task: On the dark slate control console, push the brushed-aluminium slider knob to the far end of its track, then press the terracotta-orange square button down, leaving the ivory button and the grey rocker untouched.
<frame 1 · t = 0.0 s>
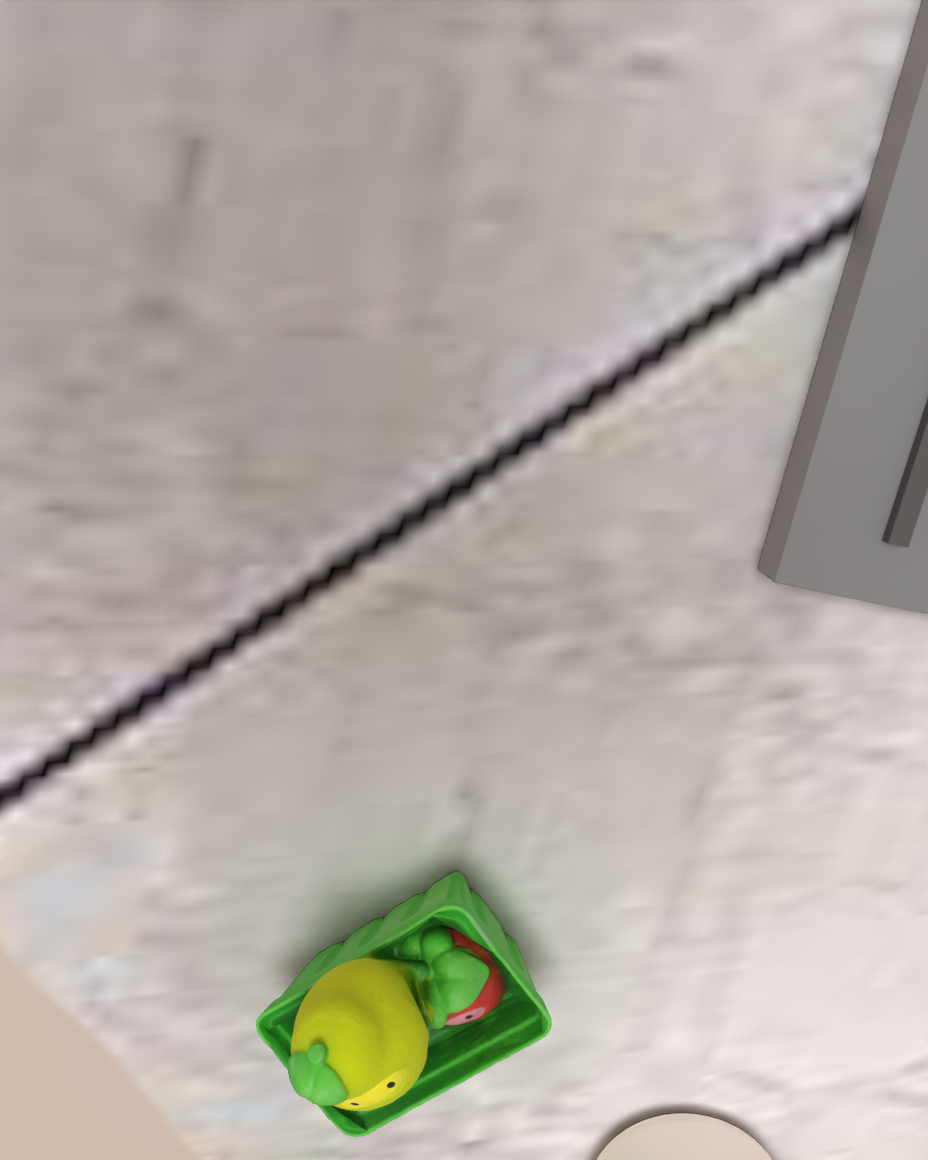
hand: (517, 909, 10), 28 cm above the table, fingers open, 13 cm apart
fruit basket: (407, 940, 43), on the table
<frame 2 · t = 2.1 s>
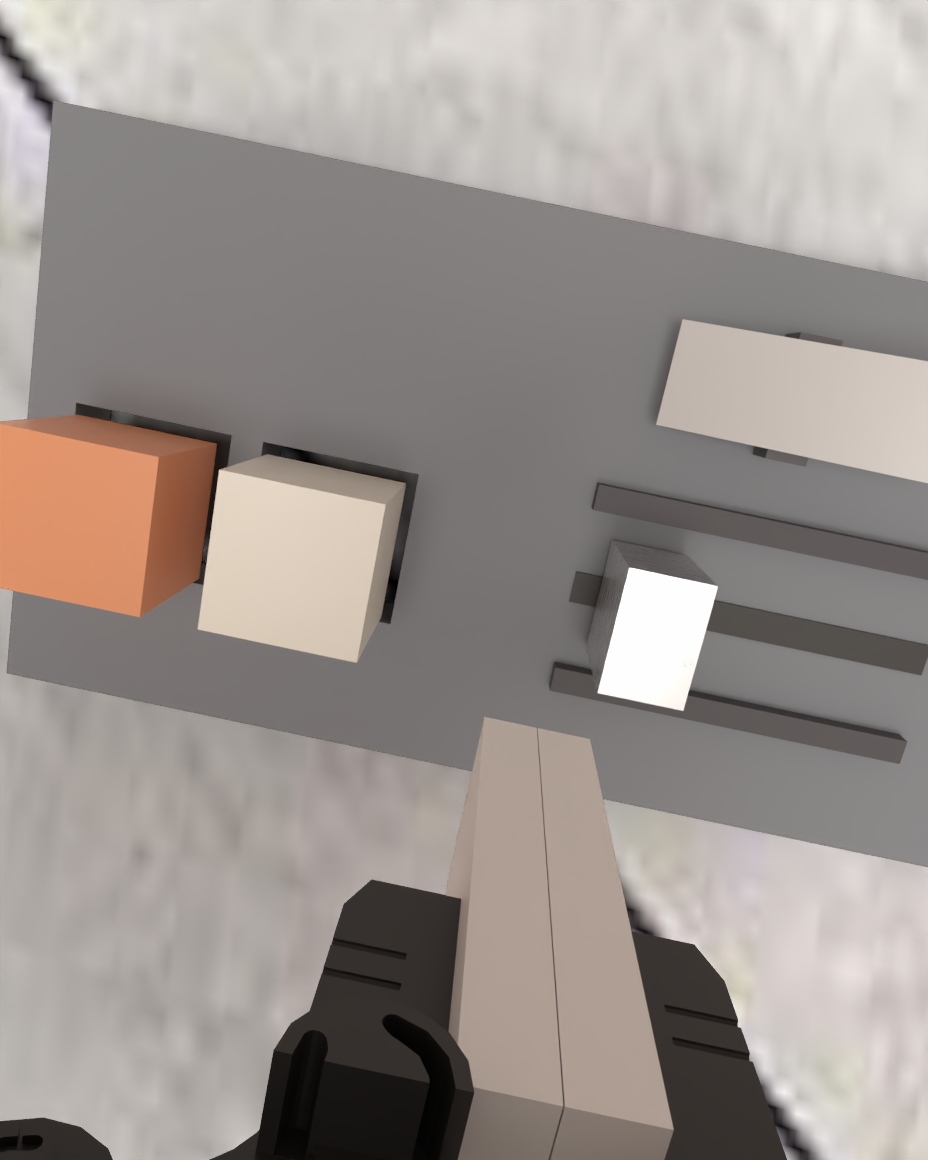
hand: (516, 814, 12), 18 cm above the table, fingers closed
rocker: (814, 401, 24), point 5 cm above the table, hinge at -20.0°
slider knob: (645, 620, 25), point 5 cm above the table, slide at 0.0 cm
console: (523, 501, 30), on the table
button B: (309, 551, 25), point 5 cm above the table, slide at 0.0 cm
button A: (107, 509, 25), point 5 cm above the table, slide at 0.0 cm
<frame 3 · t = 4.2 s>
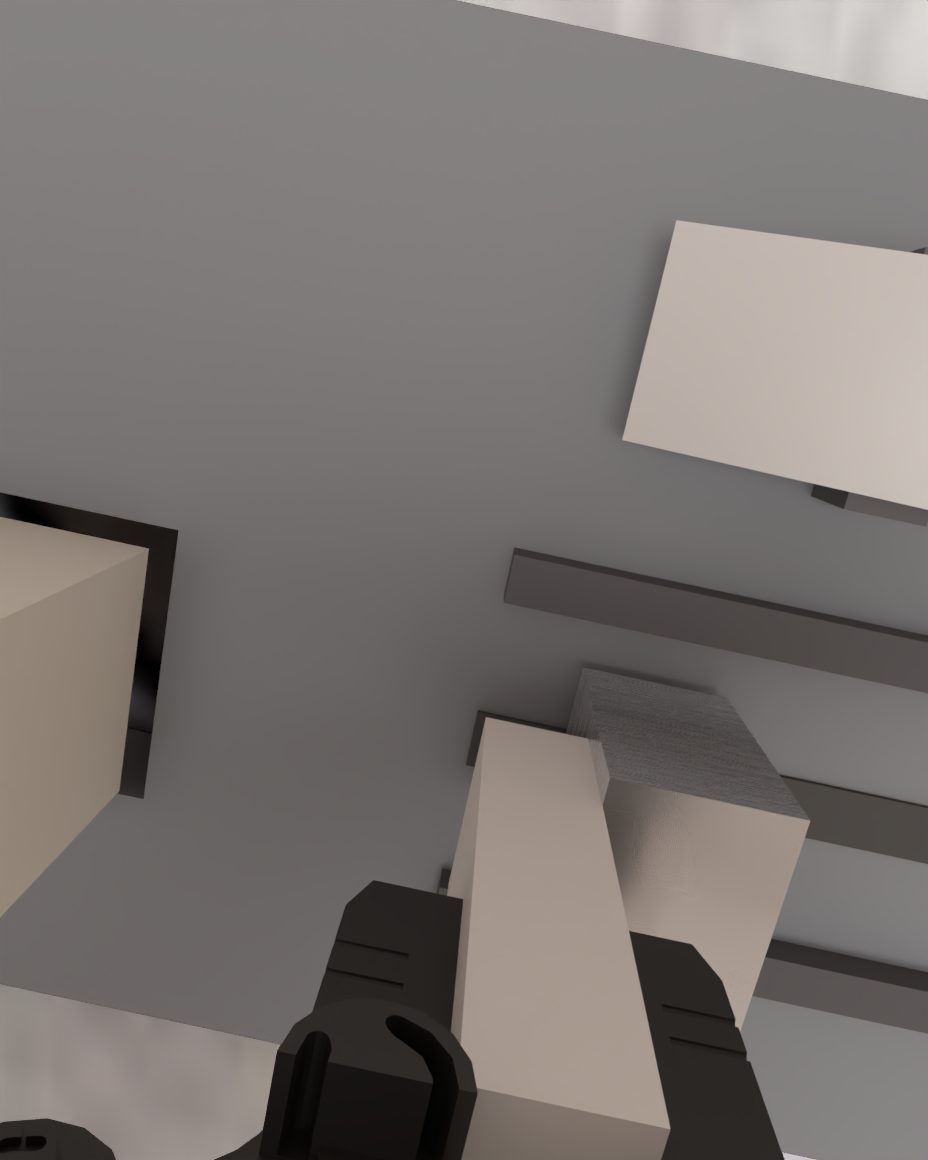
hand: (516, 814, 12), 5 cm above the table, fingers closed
slider knob: (645, 845, 13), point 5 cm above the table, slide at 0.7 cm, touching gripper
console: (398, 570, 17), on the table
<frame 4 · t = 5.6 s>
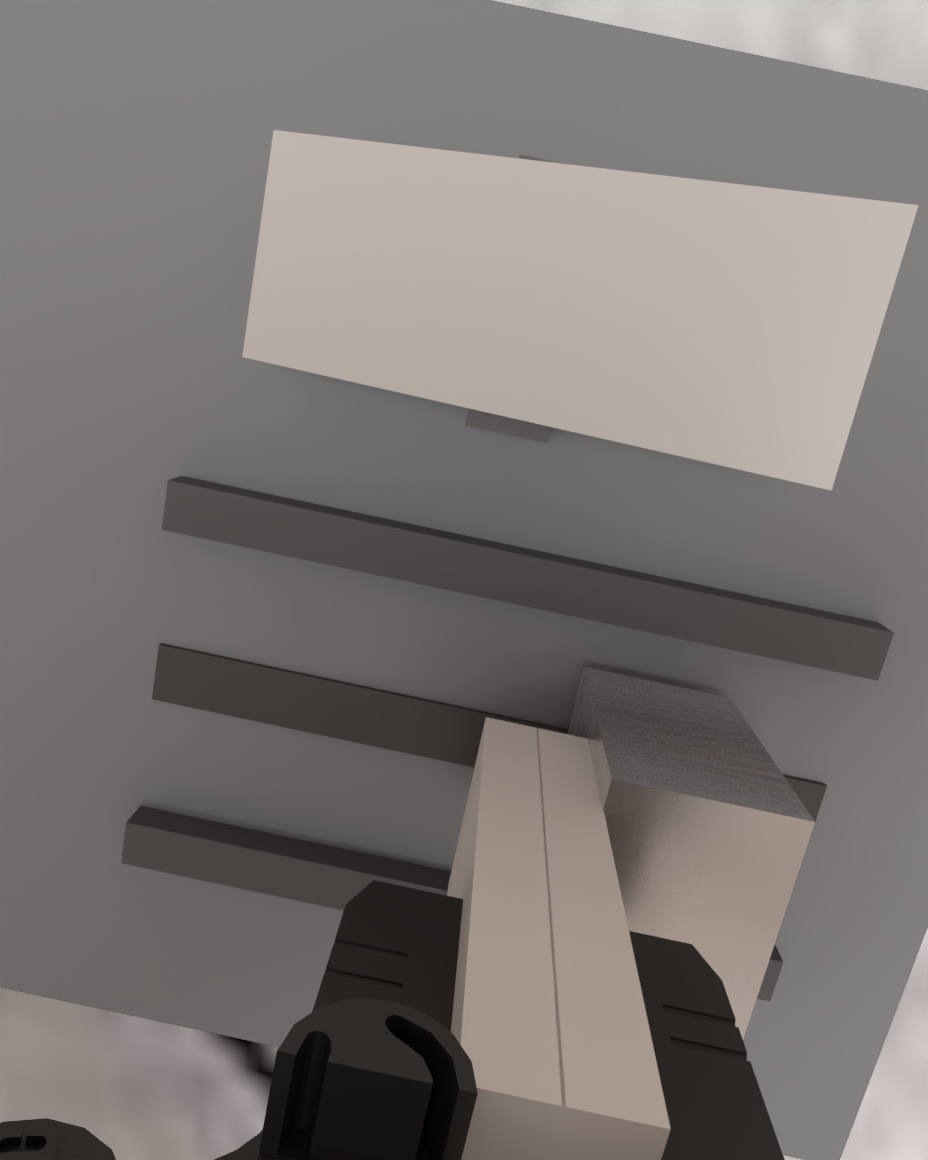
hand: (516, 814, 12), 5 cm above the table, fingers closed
rocker: (536, 298, 11), point 5 cm above the table, hinge at -20.0°
slider knob: (648, 846, 12), point 5 cm above the table, slide at 6.2 cm, touching gripper
console: (120, 511, 17), on the table
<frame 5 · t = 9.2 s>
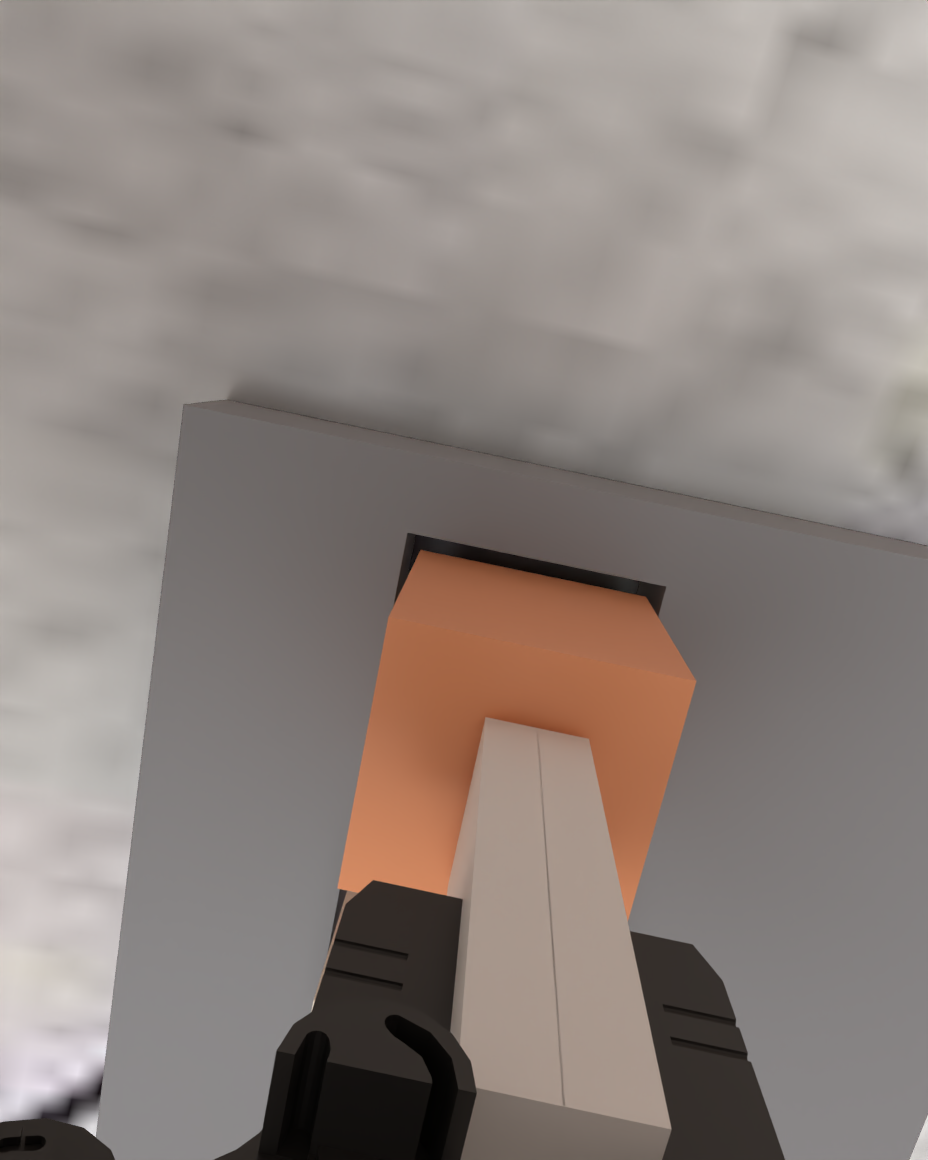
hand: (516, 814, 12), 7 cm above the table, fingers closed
console: (486, 1092, 22), on the table
button B: (439, 1036, 16), point 5 cm above the table, slide at 0.0 cm
button A: (509, 725, 15), point 5 cm above the table, slide at 0.5 cm, touching gripper
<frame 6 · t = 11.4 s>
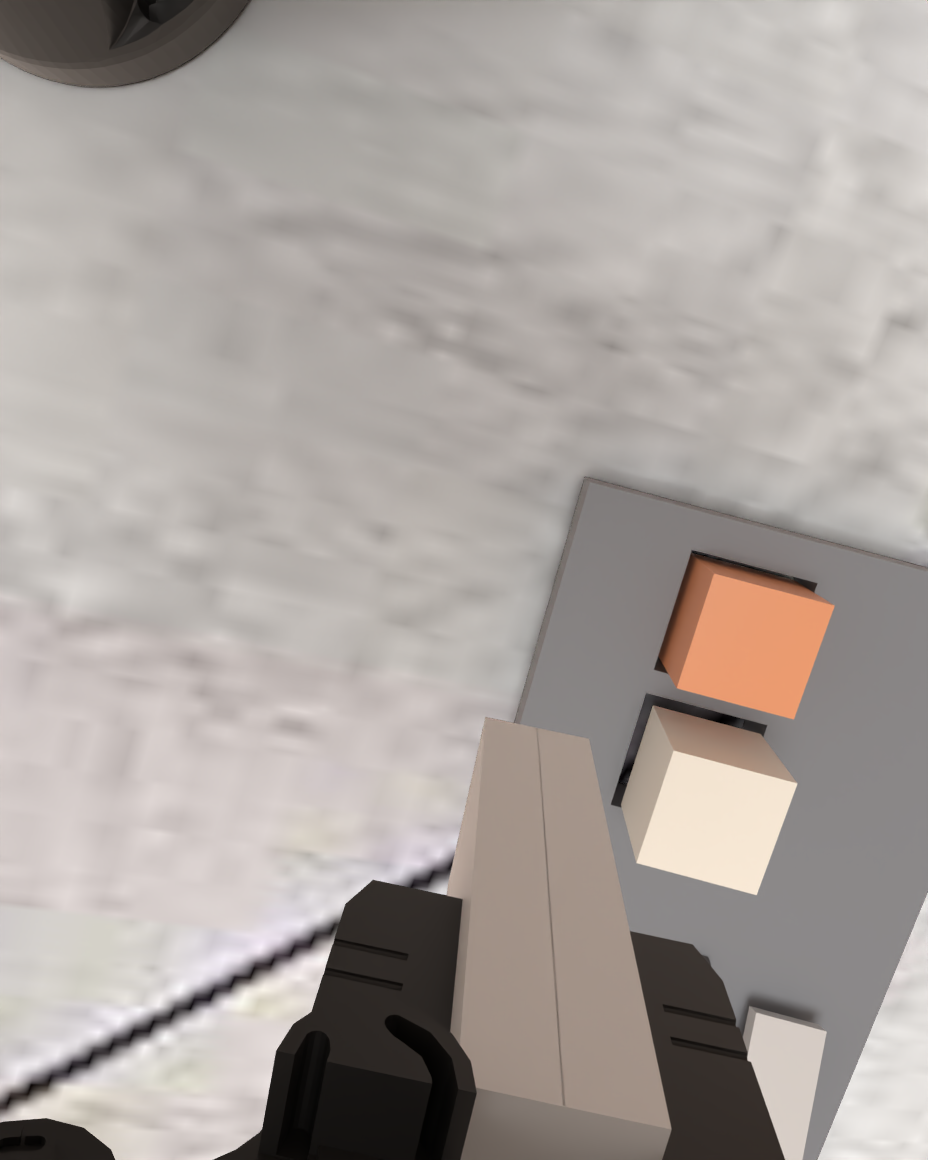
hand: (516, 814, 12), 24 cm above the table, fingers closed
rocker: (767, 1118, 36), point 5 cm above the table, hinge at -20.0°
console: (679, 875, 39), on the table
button B: (701, 794, 33), point 5 cm above the table, slide at 0.0 cm
button A: (738, 631, 33), point 3 cm above the table, slide at 2.1 cm
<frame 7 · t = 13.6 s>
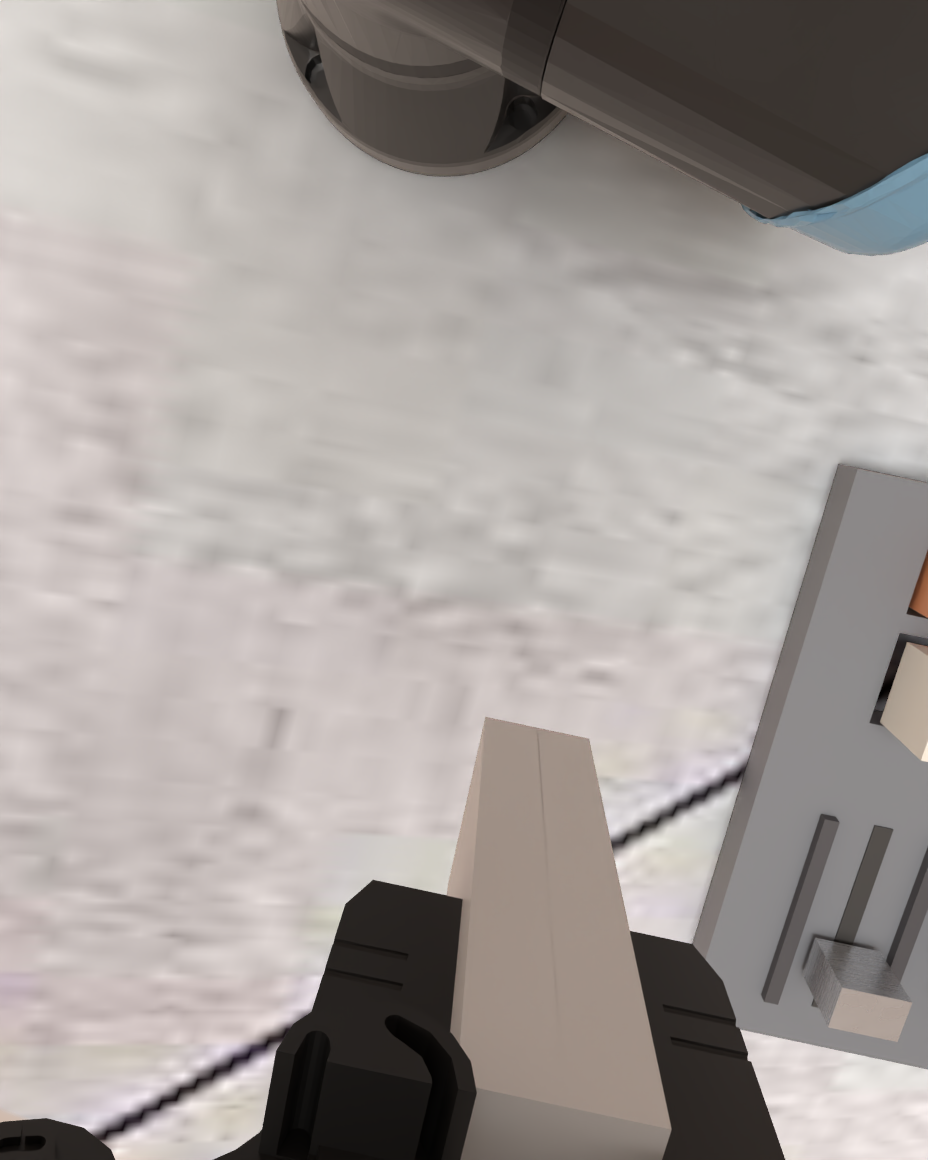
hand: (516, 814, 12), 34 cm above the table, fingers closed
slider knob: (854, 987, 46), point 5 cm above the table, slide at 6.2 cm
console: (911, 779, 48), on the table
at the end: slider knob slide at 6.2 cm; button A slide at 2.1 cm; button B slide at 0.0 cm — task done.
